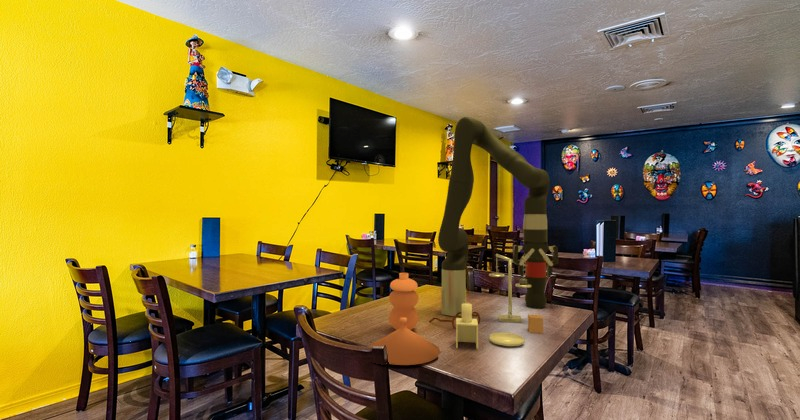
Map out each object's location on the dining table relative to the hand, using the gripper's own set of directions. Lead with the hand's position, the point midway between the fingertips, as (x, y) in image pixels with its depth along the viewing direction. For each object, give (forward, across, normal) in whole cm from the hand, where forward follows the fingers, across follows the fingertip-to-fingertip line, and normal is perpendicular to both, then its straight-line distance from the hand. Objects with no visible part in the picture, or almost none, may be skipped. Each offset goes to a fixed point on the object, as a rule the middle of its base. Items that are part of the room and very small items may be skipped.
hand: (535, 276), depth 126 cm
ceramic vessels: (+18, -42, -17) cm, 49 cm away
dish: (+18, -11, -13) cm, 25 cm away
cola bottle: (+18, +7, +34) cm, 39 cm away
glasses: (+19, -27, +5) cm, 33 cm away
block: (+18, 0, 0) cm, 18 cm away
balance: (+18, -6, +12) cm, 23 cm away
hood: (+18, -23, -17) cm, 34 cm away
